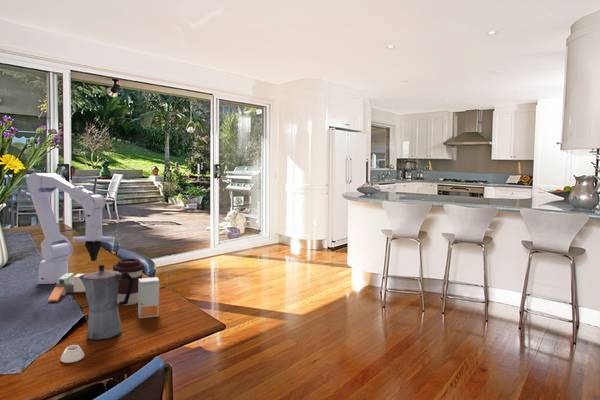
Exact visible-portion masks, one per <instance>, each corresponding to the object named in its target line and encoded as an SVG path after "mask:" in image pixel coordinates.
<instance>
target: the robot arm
mask: <svg viewBox="0 0 600 400" xmlns="http://www.w3.org/2000/svg"><path fill="white" fill-rule="evenodd" d="M26 185H27V188H28V190H29V194H30V198H31V201H32V203H33V208H34V209H35V213H36V215H37V218H38V221H39V224H40V227H41V230H42V231H41V232H42V233H43V235H44V239H43V240H42V241H41V243H40V244H39V245H40V248H41V250H40V251H41V257H42V258H43V259H42V260H41V261H40V262H39V265H38V282H37V284H38V285H47V284H49V285H50V284H51V285H53V284H54V285H58V279H59V278H60V277H62V276H63V275H65V274H66V273H69V262H68V261H69V258H70V256H71V255H72V254H73V250H74V249H73V245H72V243H85V244H84V247H85V248H86V250H87V252H88V253H89V257H90V261H91V262H95V261H97V259H98V255H99V252H100V250H101V247H102V246H103V243H111V244H112V243H113V244H114V243H115V242H116V240H115V239H116V238H115V236H104V235H103V209H104V208H105V207H106V204H107V201H106V198H105V196H103V194H99V193H98V194H95V193H94V192H93V191H90V190H88V189H86V188H85V186H83V185H76V186H75V185H73V184H72V183H70V182H69V181H67V180H66V179H64V178H63V177H62V175H60V174H57V173H56V172H50V173H49V172H48V173H47V172H46V173H45V172H39V173H38V172H32V173H31V174H29V176H28V178H27V180H26ZM57 189H58V190H60V191H62V192H64V193H67V194H68V195H69V198H70V199H71V200H73V201H74V202H76V203H78V204H80V205H81V207H82V209H83V210H84V215H85V235H84V236H83V235H82V236H81V235H80V236H72V243H70V240H69V239H68V237H67V236H65V235H63V234H62V233H61V231H60V229H59V226H58V223H57V220H56V217H55V213H54V211H53V208H52V205H51V202H50V199H49V197H50V195H51V196H52V194H53V193H54V192H55V191H56V190H57ZM55 283H56V284H55Z"/></svg>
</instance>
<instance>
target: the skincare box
mask: <svg viewBox="0 0 600 400" xmlns="http://www.w3.org/2000/svg"><path fill="white" fill-rule="evenodd" d="M138 280H139V284H138V303H137V316H138V319H146V318H154V317H156V318H157V317H159V309H160V305H159V304H160V279H159V277H158V276H155V277H144V278H143V277H142V279H138Z"/></svg>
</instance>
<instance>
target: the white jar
mask: <svg viewBox="0 0 600 400" xmlns="http://www.w3.org/2000/svg"><path fill="white" fill-rule="evenodd" d="M84 357H85V353H84V351H83V349H82V348H81V346H80V345H78V344H72V345H69V346H67V347H66V348H65V350H64V351H63V353H62V354H61V356H60V362H62V363H66V364H68V363H69V364H70V363H71V364H72V363H75V362H79V361H80V360H82V359H83V358H84Z"/></svg>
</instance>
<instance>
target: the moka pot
mask: <svg viewBox="0 0 600 400" xmlns="http://www.w3.org/2000/svg"><path fill="white" fill-rule="evenodd" d="M82 274H83V275H81V276H79V277H78V278H80V279H81V281H82V282H83V284H84V287H85V292H86V293H85V297H86V302H87V304H88V309H89V312H88V313H89V314H88V322H87V336H86V337H87V338H88V339H90V340H95V341H96V340H99V341H100V340H107V339H110V338H114V337H116V336H118V335H119V334H121V333H122V323H121V319H120V317H121V316H120V313H119V306H126V305H125V304H127V303H128V299H129V296H130V293H131V290H132V287H133V284H134V280H133V278H132V277H131V276H130V275H129V274H128V272H125V273H119V272H117V271H113V270H109V269H108V270H105V265H104V264H100V265H98V271H93V272H88V273H82ZM123 279H128V280H129V284H128V288H127V291H126V297H125V299H124V301H123V302H119V304H118V303H117V297H118V285H119V280H123Z"/></svg>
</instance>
